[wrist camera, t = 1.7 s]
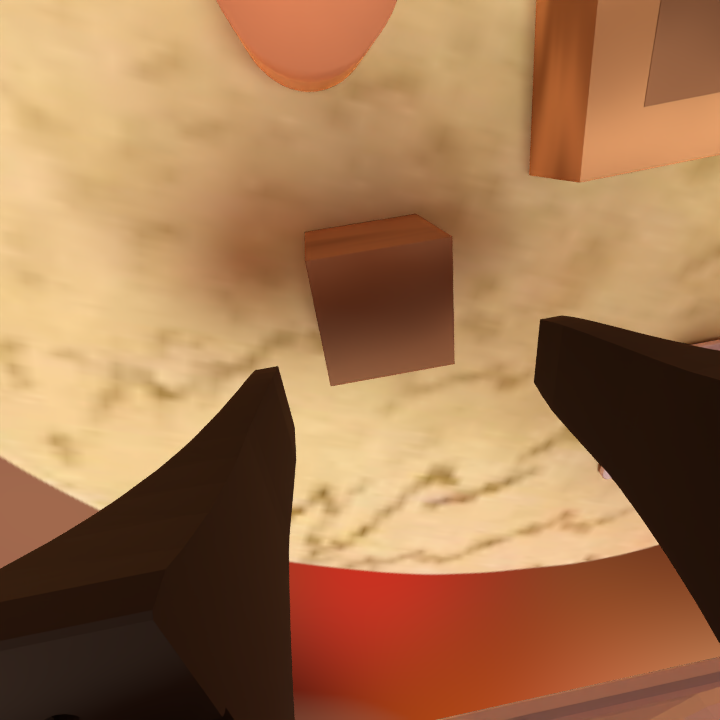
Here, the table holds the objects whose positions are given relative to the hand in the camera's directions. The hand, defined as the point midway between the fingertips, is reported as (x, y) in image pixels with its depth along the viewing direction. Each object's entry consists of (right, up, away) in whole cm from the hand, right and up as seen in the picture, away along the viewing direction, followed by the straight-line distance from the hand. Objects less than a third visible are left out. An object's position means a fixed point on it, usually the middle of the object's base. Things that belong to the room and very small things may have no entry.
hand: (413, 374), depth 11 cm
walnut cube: (-1, +4, +8) cm, 9 cm away
